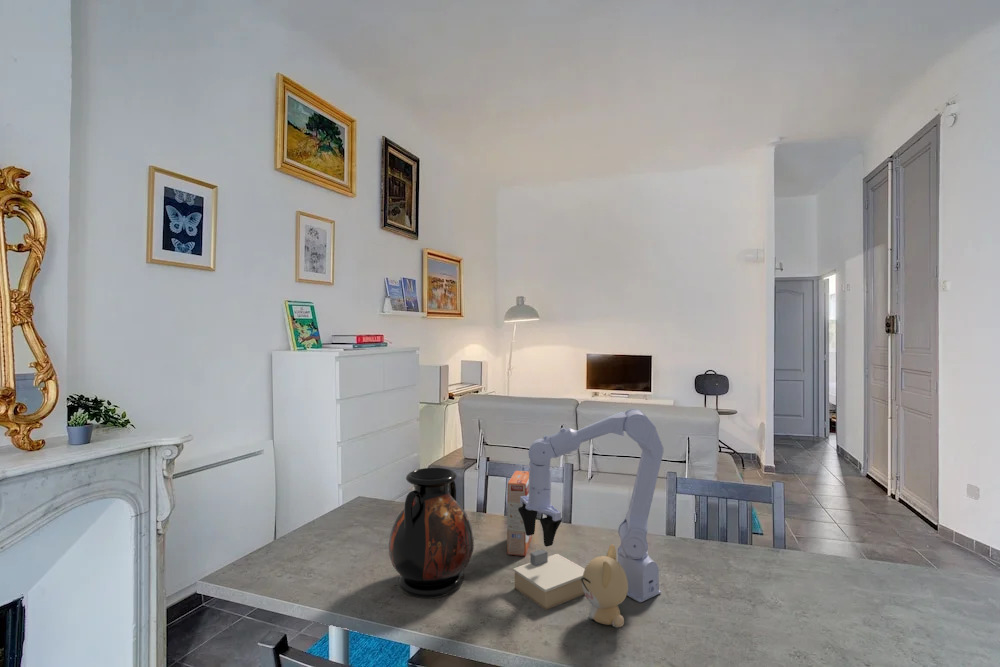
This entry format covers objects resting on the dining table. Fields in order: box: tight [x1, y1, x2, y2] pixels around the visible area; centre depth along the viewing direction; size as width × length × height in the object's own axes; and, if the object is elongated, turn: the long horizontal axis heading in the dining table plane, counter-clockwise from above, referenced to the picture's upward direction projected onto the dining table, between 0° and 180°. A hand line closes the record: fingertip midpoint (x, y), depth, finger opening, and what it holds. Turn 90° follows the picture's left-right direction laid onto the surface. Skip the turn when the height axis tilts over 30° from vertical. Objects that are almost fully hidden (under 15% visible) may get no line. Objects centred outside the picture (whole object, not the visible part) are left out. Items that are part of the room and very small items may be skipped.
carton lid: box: [512, 548, 585, 592], centre depth 120 cm, size 13×15×3 cm
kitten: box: [581, 543, 628, 628], centre depth 108 cm, size 15×10×15 cm, turn 159°
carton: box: [514, 572, 585, 611], centre depth 120 cm, size 12×14×4 cm
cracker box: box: [506, 470, 533, 557], centre depth 146 cm, size 14×6×21 cm, turn 168°
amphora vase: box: [387, 467, 475, 599], centre depth 124 cm, size 22×22×28 cm
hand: (539, 539), depth 124 cm, fingers open, 7 cm apart
